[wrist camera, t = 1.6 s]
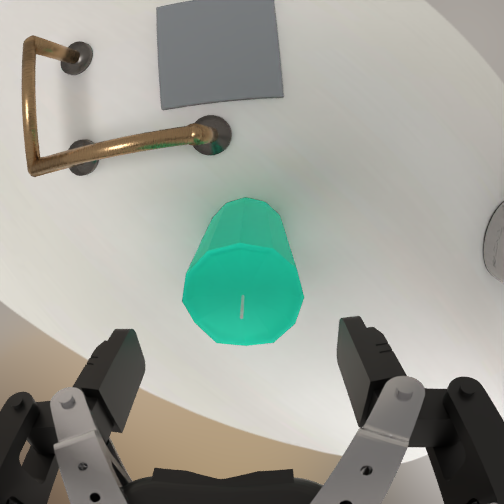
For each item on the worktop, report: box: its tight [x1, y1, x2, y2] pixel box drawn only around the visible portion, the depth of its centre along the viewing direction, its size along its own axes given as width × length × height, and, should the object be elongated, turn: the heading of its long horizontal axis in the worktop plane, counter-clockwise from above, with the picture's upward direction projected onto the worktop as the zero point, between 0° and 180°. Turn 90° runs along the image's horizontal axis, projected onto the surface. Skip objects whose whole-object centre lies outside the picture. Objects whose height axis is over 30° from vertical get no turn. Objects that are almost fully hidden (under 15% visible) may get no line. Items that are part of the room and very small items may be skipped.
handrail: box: [22, 36, 231, 177], centre depth 17 cm, size 14×12×8 cm
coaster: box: [156, 0, 284, 110], centre depth 19 cm, size 9×9×1 cm
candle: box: [182, 197, 304, 346], centre depth 19 cm, size 6×6×12 cm
